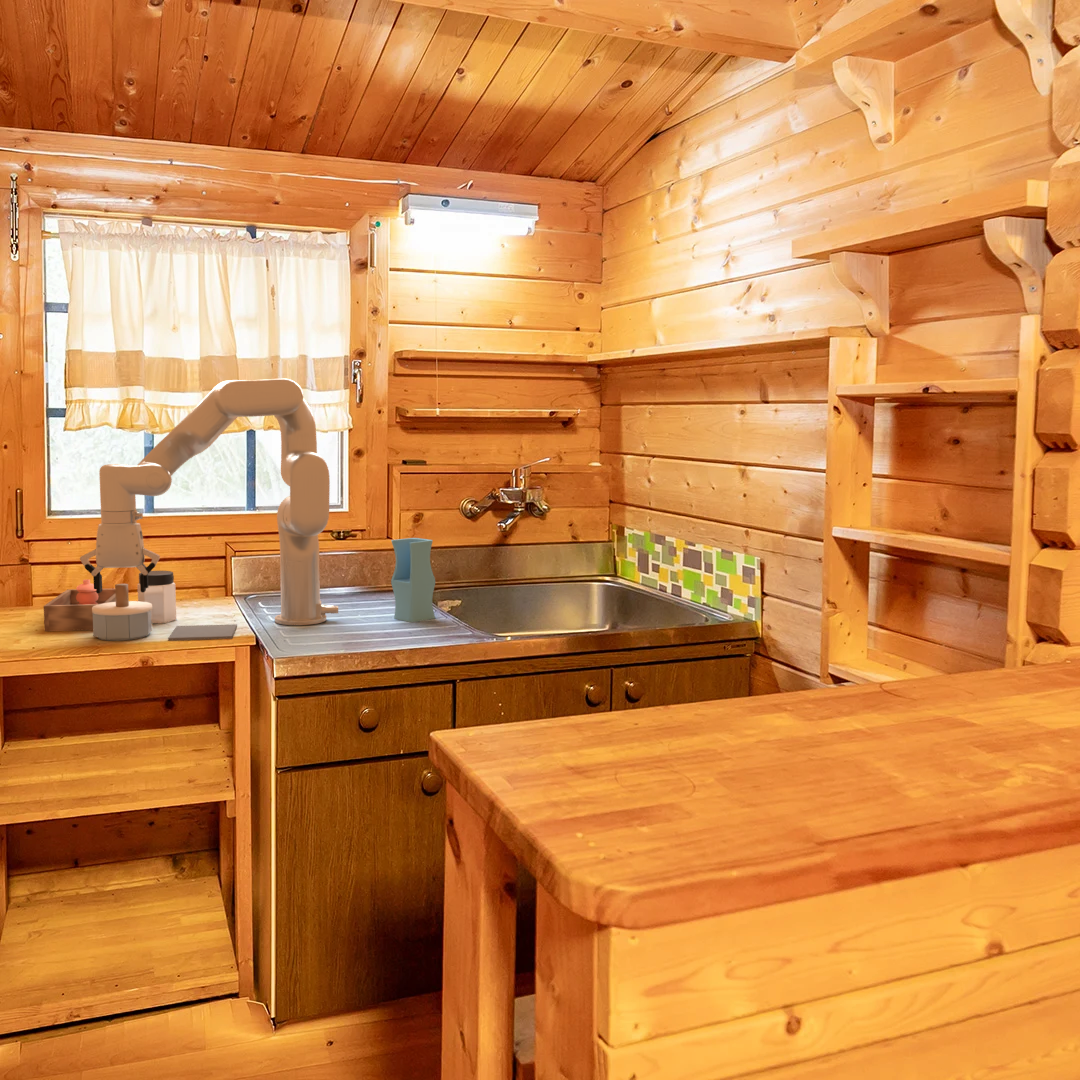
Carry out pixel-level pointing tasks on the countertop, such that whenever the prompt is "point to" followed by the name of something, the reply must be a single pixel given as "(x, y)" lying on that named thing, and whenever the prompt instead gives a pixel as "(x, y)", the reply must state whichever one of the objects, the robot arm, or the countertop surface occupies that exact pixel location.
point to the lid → (121, 604)
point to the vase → (413, 580)
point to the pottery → (86, 593)
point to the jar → (160, 596)
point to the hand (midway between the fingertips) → (121, 591)
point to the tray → (72, 611)
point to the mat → (203, 632)
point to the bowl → (122, 626)
